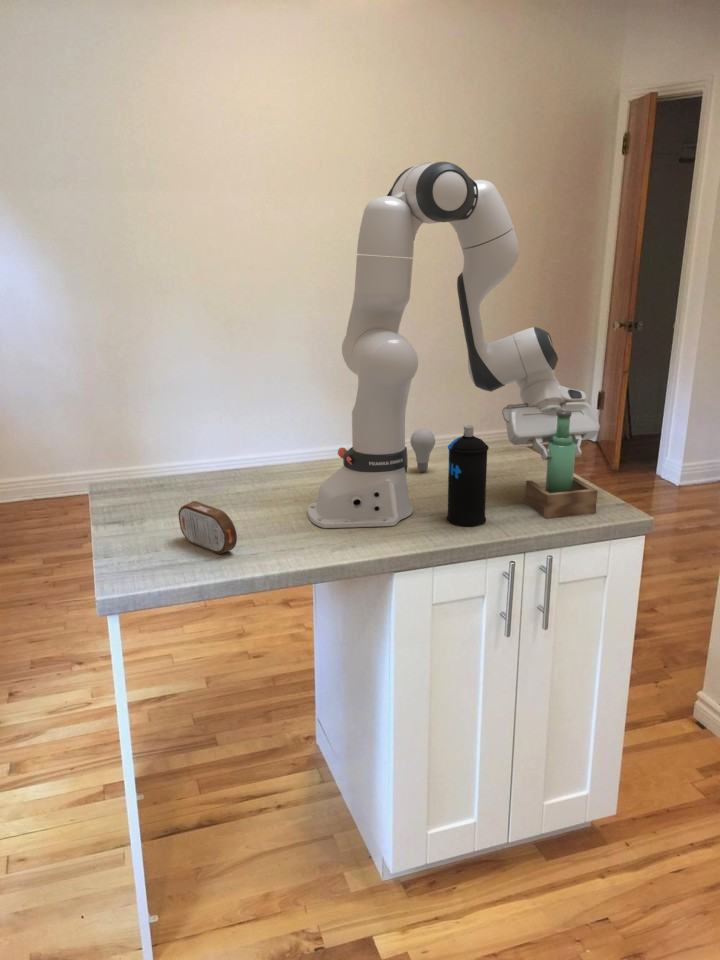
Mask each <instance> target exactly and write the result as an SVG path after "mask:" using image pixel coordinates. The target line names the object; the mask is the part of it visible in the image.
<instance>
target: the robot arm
mask: <svg viewBox="0 0 720 960" xmlns="http://www.w3.org/2000/svg"><path fill="white" fill-rule="evenodd" d="M392 184H393V185H392V187H391V188H390V190H389V191H388V193H387V194H386V195H382V196H378V197H376V198H373V199H372V200H370V201H369V202H368V203H367V204H366V206H365V208H364V210H363V214H362V218H361V223H360V227H359V232H358V240H357V248H356V254H357V255H356V259H355V260H356V261H355V262H356V265H355V276H354V291H353V292H354V293H353V300H352V303H351V304H352V305H351V309H350V314H349V318H348V322H347V327H346V328H347V329H346V334H345V336H344V339H342V340H343V341H342V343H341V353H342V354H341V355H342V357H343V360H344V363H345V364H346V367H347V368H348V369H349V371H351V372H352V373H354V374H355V375H356V376H357V378H358V379H357V380H358V384H357V385H358V386H357V392H356V398H355V404H354V406H353V408H352V410H351V429H352V430H351V435H352V436H351V438H352V439H351V442H352V446H351V447H350V448H349V449H346V448H345V447H343V446H341V447H339V448H338V449H337V455H338V456H339V457H340V459H342V462H343V466H341V467H340V468H339V469H338V470H337V471H335V472H334V473H333V474H332V475H330V476H328V478H326V479H325V480H324V481H322V483H321V485H320V486H319V489H318V493H317V494H318V495H317V499H316V500H317V501H316V502H312V503H310V504H309V505H308V507H307V510H306V511H307V517H308V519H309V521H311V523H313V524H314V525H315V526H317V527H320V528H323V529H335V528H337V529H338V528H339V529H340V528H341V529H342V528H366V527H367V528H368V527H369V528H370V527H371V528H372V527H393V526H396V525H397V524H398V523H399V522H400V521H401V520H404V519H405V518H408V517H409V516H410V515H412V514H413V507H412V506H413V505H412V504H411V499H410V495H409V490H408V489H409V488H408V483H407V473H408V465H409V464H408V463H409V461H408V459H409V458H408V448H407V446H406V413H407V412H406V410H407V404H408V403H407V402H408V399H409V393H410V389H411V383H412V380H413V378H415V375H416V374H417V371H418V368H419V357H418V354H417V351H416V350H415V348H414V347H413V345H412V344H411V342H410V341H409V340H408V339H407V338H406V337H405V336H404V335H402V334H399V330H400V326H401V321H402V318H403V314H404V311H405V309H406V306H407V304H408V303H409V302H410V299H411V290H412V289H411V288H412V275H413V261H414V244H415V243H414V242H415V239H416V236H417V233H418V230H419V229H420V227H421V226H422V224H423V223H424V224H427V225H428V224H437V223H439V224H440V223H449V224H450V225H451V227H452V228H453V229H454V231H455V233H456V234H457V239H458V241H459V244H460V248H461V250H462V255H463V268H462V272H461V273H459V275H458V276H457V279H456V280H457V282H456V290H457V296H458V302H459V303H458V304H459V310H460V316H461V320H462V328H463V332H464V338H465V342H466V349H467V367H468V369H467V370H468V373H469V376H470V379H471V381H472V383H473V384H474V386H475V387H476V388H478V389H481V390H483V391H486V392H491V393H492V392H494V391H496V390H499V389H500V388H503V387H505V386H506V385H508V384H511V383H514V382H515V383H516V385H517V386H518V387H519V390H520V391H519V393H520V399H521V402H522V403H517V404H507V405H506V406H505V407H504V408H502V411H501V414H502V417H503V420H504V421H505V424H506V425H505V427H506V433H507V438H508V441H509V442H510V444H512V445H513V446H517V445H518V446H519V445H532V447H533V449H534V450H535V451H537V452H538V453H539V454H540V456H541V459H542V460H543V461H547V460H549V459H550V458H551V457H552V454H551V453H550V449H548V448H546V446H544V445H543V443H549V442H550V441H552V439H553V435H556V430H557V416H556V415H557V411H560V410H565V411H571V412H572V413H571V417H570V427H569V435H570V436H572V442H574V443H575V444H576V447H575V458H580V457H581V455H583V454H582V453H583V452H582V450H581V445H582V440H592V439H593V438H595V436H597V434H598V433H599V432H600V428H601V426H600V422H599V419H598V417H597V415H596V412H595V410H594V408H593V407H592V405H591V404H589V403H588V402H586V400H587V394H586V393H585V391H583V390H579V389H574V388H569V387H566V386H563V385H561V384H560V381H559V380H558V379H557V378H556V376H555V369H556V367H557V363H558V361H559V357H558V354H557V353H556V351H555V349H554V345H553V341H552V337H551V335H550V333H549V332H547V331H546V330H545V329H542V328H540V327H539V326H538V327H537V326H533V327H529V328H526V329H523V330H520V331H518V332H515V333H513V334H510V335H508V336H505V337H502V338H500V339H496V340H493V341H491V342H487V341H486V340H485V337H484V330H483V325H482V318H481V311H480V308H481V304H482V302H483V300H484V299H485V298H486V296H487V295H488V294H490V292H491V291H492V290H493V289H495V288H496V287H497V286H498V285H499V284H500V283H501V282H503V280H505V279H506V278H507V277H508V275H509V274H510V273H511V272H512V271H513V269H514V267H515V266H516V264H517V262H518V259H519V255H520V246H519V240H518V236H517V234H516V230H515V226H514V224H513V221H512V218H511V215H510V213H509V209H508V208H507V206H506V203H505V201H504V200H503V197H502V196H501V194H500V192H499V190H498V188H497V187H496V185H495V184H494V183H492V182H491V181H489V180H485V179H474V180H473V179H472V178H471V177H470V176H469V175H468V173H467V172H466V171H465V170H463V168H462V167H460V166H458V165H457V164H455V163H452V162H448V161H438V162H432V161H429V162H428V161H427V162H423V163H420V164H417V165H415V166H411V167H408V168H406V169H405V170H403V171H402V172H401V173H400V174H399V175H398V177H397V178H396V179H395V181H394V183H392Z"/></svg>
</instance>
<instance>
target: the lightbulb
mask: <svg viewBox="0 0 720 960" xmlns="http://www.w3.org/2000/svg"><path fill="white" fill-rule="evenodd" d="M435 445H436V437H435V434H434V433H433V432H432V431H431V430H429V429H428V428H418V429H416V430H415V431H414V432H413V433H412V434H411V436H410V446H411V447H412V450H413V452H414V454H415V460H416V464H417V465H416V466H417V467H416V468H417V470H418V471H420V472H421V473H424V472H425V471H427V470H428V467H429V466H428V465H429V461H430V456H431V453H432V451H433V449H434V447H435Z"/></svg>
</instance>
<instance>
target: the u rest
mask: <svg viewBox="0 0 720 960" xmlns="http://www.w3.org/2000/svg"><path fill="white" fill-rule="evenodd" d="M524 495H525V496H524V497H525V498H524V503H525V504H526V505H528V507H530V508H532V510H535V511H536V512H537V513H538V514H540V515H541V516H543V518H545V519H550V518H551V517H553V518H560V517H559V516H562V517H569V515H571V516H580V514H581V515H588V513H590V514H596V513H597V502H598V499H597V498H598V490H597V489H596V488H594V487H592V486H590V485H589V484H587V483H585V482H584V481H582V480H581V479H578V478H577V477H575V476H574V475H573V489H572V491H567V492H557V493H549V492H548V491H546V488H544V487H541V486H540V485H539V484H537V483H535V482H534V481H533V480H526V481H525V493H524ZM551 519H552V518H551Z"/></svg>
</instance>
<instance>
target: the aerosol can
mask: <svg viewBox="0 0 720 960" xmlns="http://www.w3.org/2000/svg"><path fill="white" fill-rule="evenodd" d="M474 430H475V427H474V426H473V425H463V431H464V432H463V435H462V436H459V437H457V438H455V439H453V441H451V443H448V445H447V450H448V480H447V481H448V483H447V516H446V518H445V519H446V521H447V522H448V523H449V524H451V525H452V526H457V527H465V528H467V527H469V528H470V527H471V528H472V527H478V525H479V526H481V525H483V524H485V523H486V521H487V518H486V501H487V499H486V498H487V469H488V467H487V465H488V450H489V445H488V444H486V442H485V441H484V440H483V439H481V438H480V437H476V436H474Z"/></svg>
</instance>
